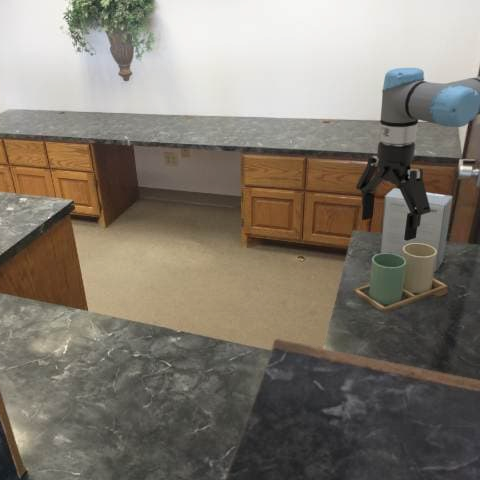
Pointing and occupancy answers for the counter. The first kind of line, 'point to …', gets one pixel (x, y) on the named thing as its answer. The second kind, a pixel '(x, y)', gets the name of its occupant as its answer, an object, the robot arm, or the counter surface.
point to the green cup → (387, 278)
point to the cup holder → (437, 290)
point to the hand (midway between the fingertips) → (387, 228)
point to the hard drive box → (427, 233)
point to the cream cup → (418, 267)
